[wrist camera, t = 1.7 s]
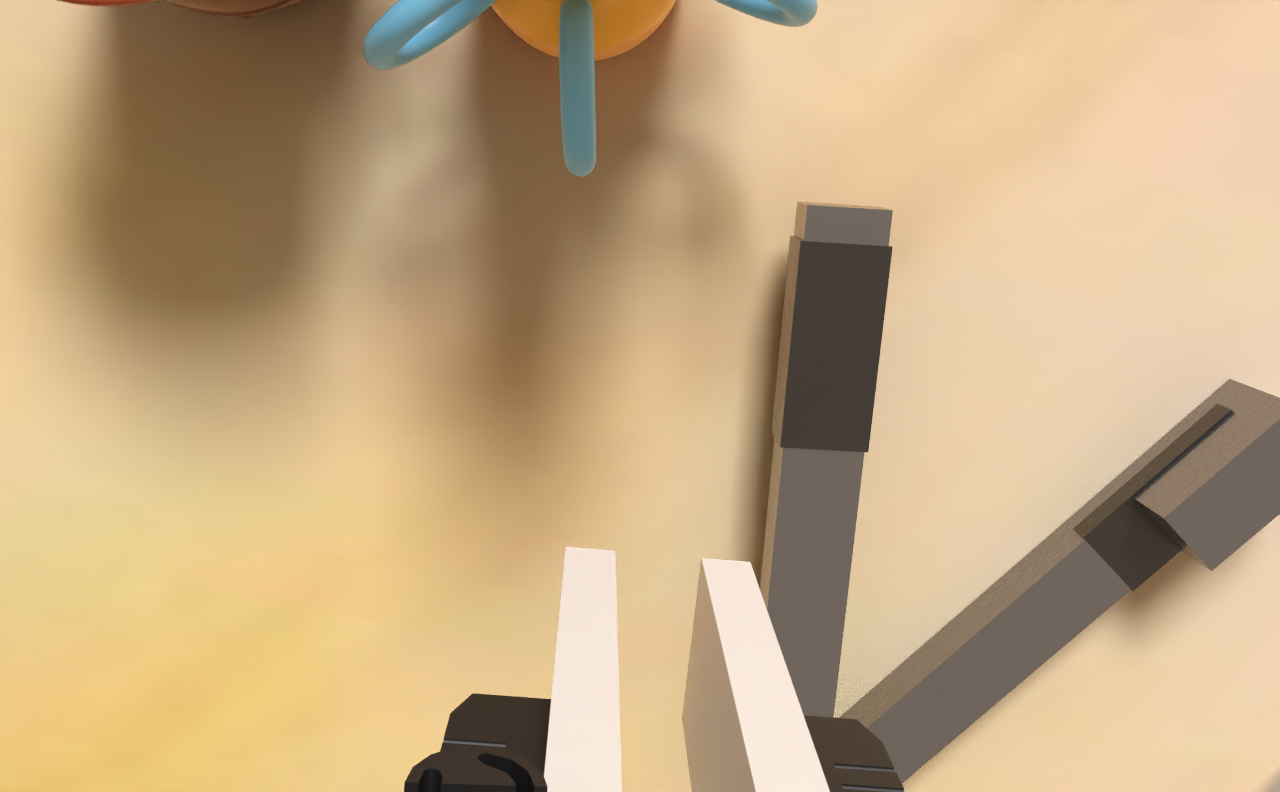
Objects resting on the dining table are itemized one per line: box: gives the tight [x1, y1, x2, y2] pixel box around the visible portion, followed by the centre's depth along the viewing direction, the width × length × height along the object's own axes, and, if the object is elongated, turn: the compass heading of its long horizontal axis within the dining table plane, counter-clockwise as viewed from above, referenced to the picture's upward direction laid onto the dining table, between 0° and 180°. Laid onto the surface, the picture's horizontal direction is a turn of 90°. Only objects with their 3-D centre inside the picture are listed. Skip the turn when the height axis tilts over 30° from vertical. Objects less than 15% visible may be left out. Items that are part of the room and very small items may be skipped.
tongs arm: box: [760, 202, 893, 718], centre depth 33 cm, size 20×3×2 cm, turn 176°
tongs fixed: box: [840, 379, 1280, 783], centre depth 35 cm, size 23×3×4 cm, turn 134°
